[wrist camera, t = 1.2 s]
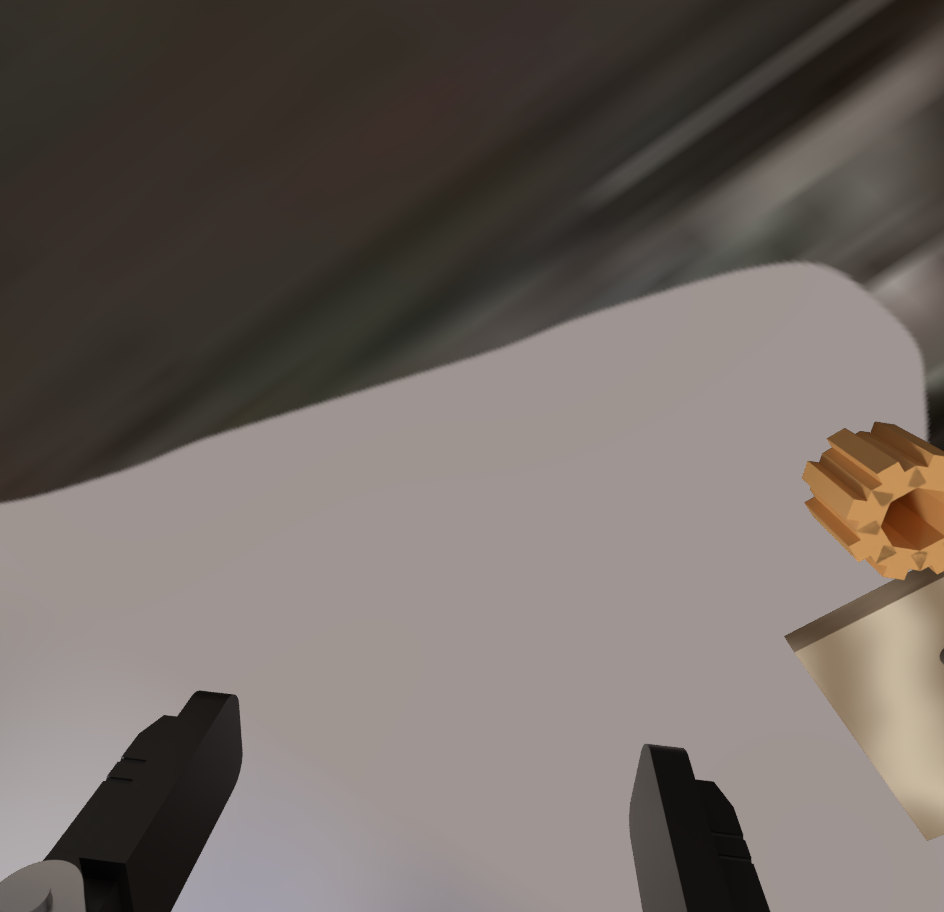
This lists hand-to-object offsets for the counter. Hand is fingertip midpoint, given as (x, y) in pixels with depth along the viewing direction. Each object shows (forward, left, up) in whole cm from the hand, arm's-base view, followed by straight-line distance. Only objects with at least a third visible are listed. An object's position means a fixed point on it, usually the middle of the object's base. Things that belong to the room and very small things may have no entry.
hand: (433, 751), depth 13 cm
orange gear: (-14, +14, -23) cm, 30 cm away
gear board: (-13, +29, -23) cm, 39 cm away
